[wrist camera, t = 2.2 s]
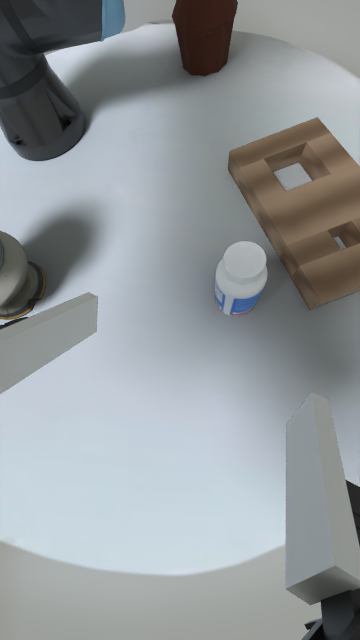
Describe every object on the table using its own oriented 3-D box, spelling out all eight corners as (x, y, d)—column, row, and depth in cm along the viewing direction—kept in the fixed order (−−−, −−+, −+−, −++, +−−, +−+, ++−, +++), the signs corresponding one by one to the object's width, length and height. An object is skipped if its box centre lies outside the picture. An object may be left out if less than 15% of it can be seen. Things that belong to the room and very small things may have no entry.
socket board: (227, 169, 37) (229, 151, 34) (308, 138, 37) (317, 117, 34) (309, 309, 29) (320, 301, 26) (413, 270, 29) (436, 257, 26)
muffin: (241, 69, 43) (251, -20, 34) (186, 88, 44) (180, 5, 34) (221, 36, 47) (225, -53, 38) (170, 54, 47) (161, -30, 38)
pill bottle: (261, 289, 30) (285, 246, 21) (245, 324, 29) (262, 294, 20) (224, 274, 32) (230, 227, 22) (207, 307, 31) (206, 272, 21)
